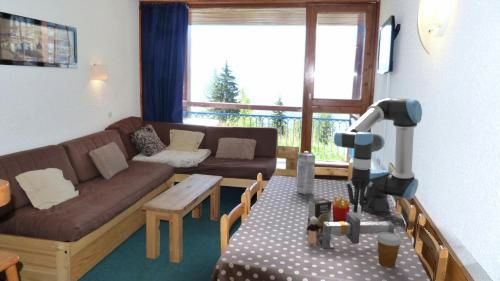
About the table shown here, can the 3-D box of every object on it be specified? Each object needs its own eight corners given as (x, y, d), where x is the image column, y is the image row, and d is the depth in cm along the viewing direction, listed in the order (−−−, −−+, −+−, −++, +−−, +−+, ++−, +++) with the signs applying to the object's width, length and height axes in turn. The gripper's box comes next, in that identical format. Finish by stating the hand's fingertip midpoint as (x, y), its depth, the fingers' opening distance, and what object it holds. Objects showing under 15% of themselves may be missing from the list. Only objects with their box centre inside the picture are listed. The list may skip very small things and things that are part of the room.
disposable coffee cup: (370, 259, 165) (373, 231, 163) (392, 258, 166) (395, 231, 164) (380, 270, 156) (382, 241, 154) (403, 269, 157) (406, 241, 155)
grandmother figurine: (308, 246, 175) (310, 219, 173) (303, 243, 178) (304, 216, 176) (322, 243, 179) (323, 216, 177) (316, 240, 182) (318, 214, 180)
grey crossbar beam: (389, 240, 185) (391, 219, 183) (397, 247, 177) (399, 226, 175) (317, 241, 181) (319, 220, 179) (323, 249, 173) (324, 227, 171)
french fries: (337, 221, 207) (339, 193, 205) (351, 225, 202) (354, 197, 199) (328, 225, 201) (330, 196, 199) (342, 230, 195) (344, 200, 193)
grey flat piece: (350, 234, 183) (351, 212, 182) (358, 243, 173) (360, 220, 171) (344, 234, 183) (346, 212, 181) (353, 244, 173) (355, 221, 171)
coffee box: (314, 237, 186) (316, 203, 183) (306, 232, 192) (308, 199, 189) (329, 234, 190) (332, 201, 188) (321, 229, 196) (323, 197, 193)
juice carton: (313, 195, 252) (316, 153, 248) (297, 194, 252) (299, 152, 248) (311, 191, 261) (314, 150, 257) (295, 190, 261) (297, 150, 257)
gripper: (372, 165, 177) (368, 216, 181) (344, 165, 176) (340, 216, 180) (379, 169, 170) (375, 222, 174) (350, 169, 169) (346, 222, 172)
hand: (357, 219), depth 177 cm, fingers closed
